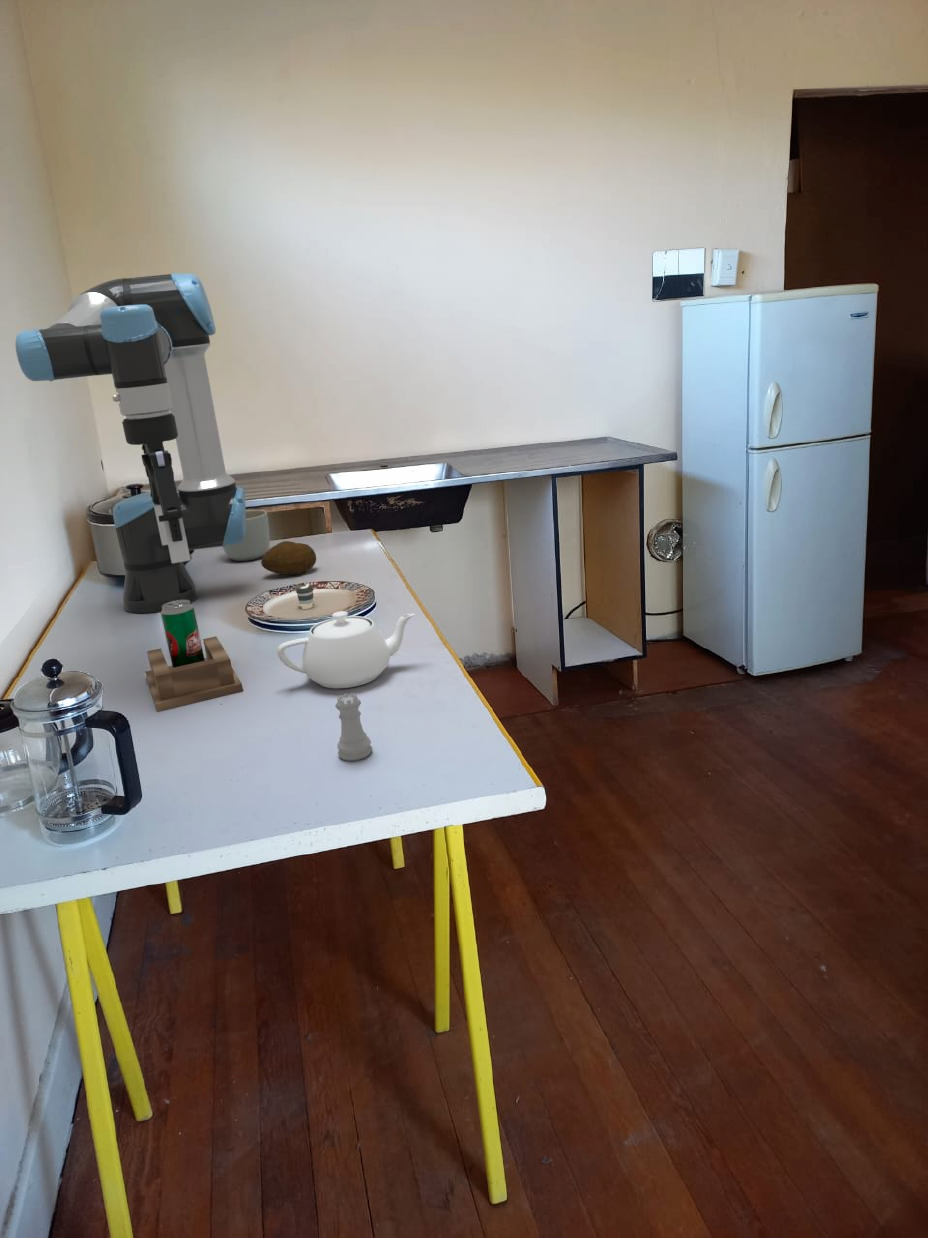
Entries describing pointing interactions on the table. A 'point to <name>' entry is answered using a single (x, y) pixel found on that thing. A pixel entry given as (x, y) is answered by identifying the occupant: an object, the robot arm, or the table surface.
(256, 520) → the planter
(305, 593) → the coffee cup
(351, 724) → the rook chess piece
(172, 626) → the soda can
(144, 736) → the table surface
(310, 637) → the teapot
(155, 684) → the cradle
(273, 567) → the potato
